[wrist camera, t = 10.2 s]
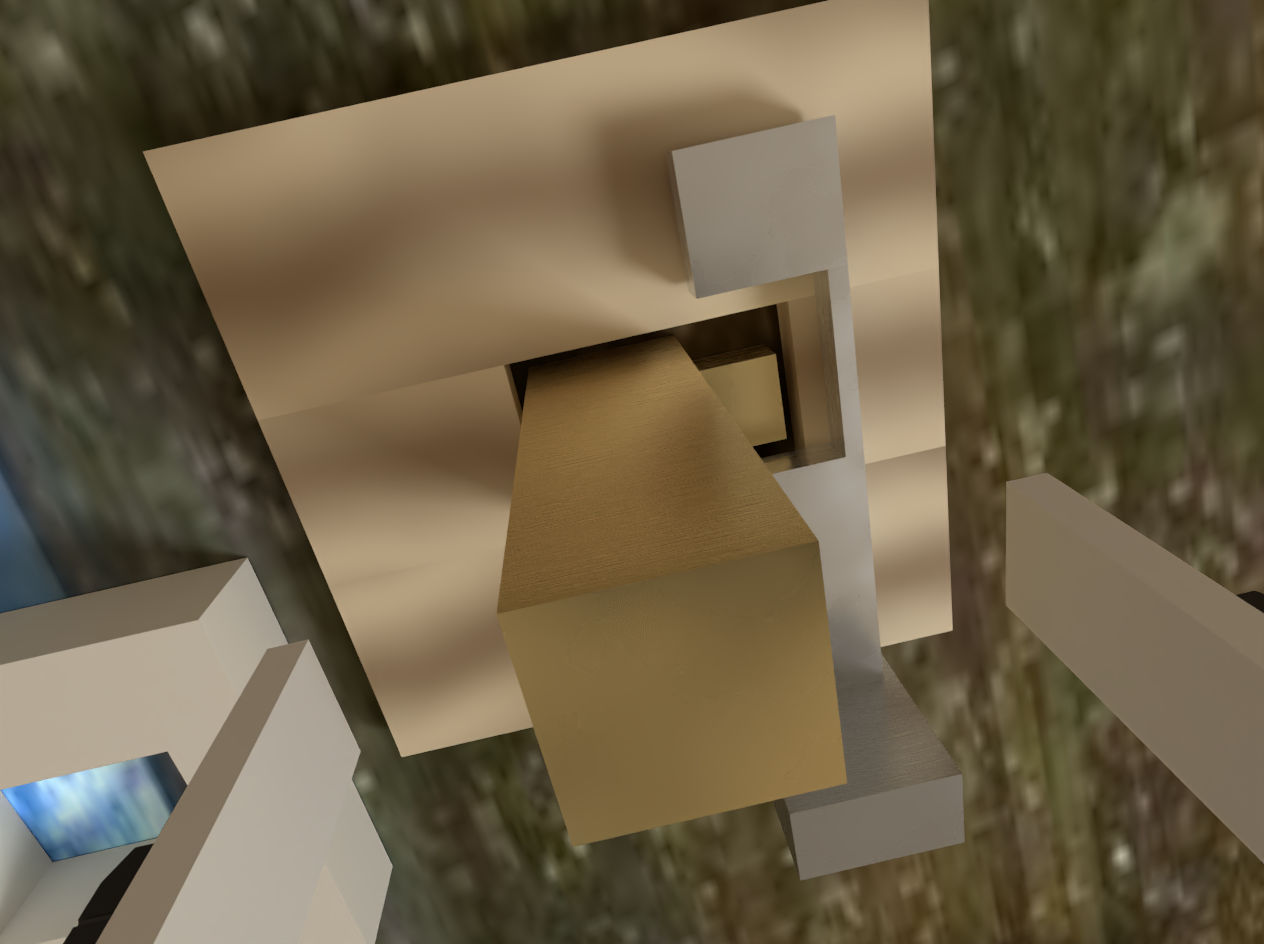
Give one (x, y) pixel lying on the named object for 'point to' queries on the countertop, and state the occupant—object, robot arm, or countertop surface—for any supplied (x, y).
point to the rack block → (146, 733)
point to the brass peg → (665, 592)
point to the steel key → (823, 488)
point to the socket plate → (551, 309)
